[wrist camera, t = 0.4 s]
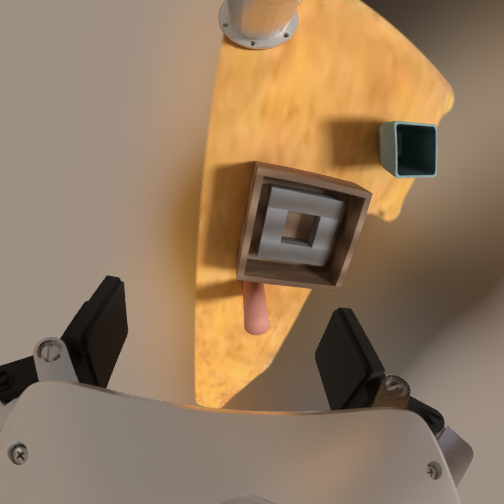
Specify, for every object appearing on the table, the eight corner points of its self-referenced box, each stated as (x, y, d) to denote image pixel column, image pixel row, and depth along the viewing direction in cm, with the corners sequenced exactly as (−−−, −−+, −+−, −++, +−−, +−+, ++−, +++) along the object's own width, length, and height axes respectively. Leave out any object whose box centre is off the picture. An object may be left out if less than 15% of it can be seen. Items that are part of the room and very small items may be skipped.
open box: (254, 160, 42) (257, 167, 36) (354, 183, 44) (372, 193, 38) (236, 259, 50) (236, 279, 44) (327, 271, 52) (338, 291, 46)
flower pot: (370, 167, 43) (395, 178, 35) (367, 119, 39) (394, 120, 31) (408, 166, 43) (437, 177, 35) (407, 121, 39) (437, 124, 31)
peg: (244, 274, 51) (246, 315, 41) (265, 277, 52) (272, 317, 41) (241, 291, 53) (242, 333, 42) (261, 294, 54) (266, 336, 43)
